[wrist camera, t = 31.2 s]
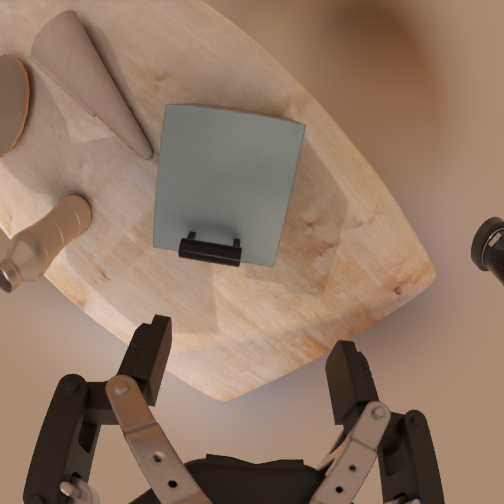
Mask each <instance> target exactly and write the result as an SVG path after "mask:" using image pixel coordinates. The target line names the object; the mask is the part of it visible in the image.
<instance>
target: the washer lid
mask: <svg viewBox="0 0 504 504" xmlns="http://www.w3.org/2000/svg"><path fill="white" fill-rule="evenodd" d="M305 127H306V125H304V124H300V123H296V122H291V121H286V120H282V119H277V118H272V117H266V116H261V115H255V114H250V113H243V112H237V111H230V110H223V109H215V108H207V107H197V106H187V105H174V104H166V109H165V116H164V122H163V129H162V137H161V145H160V153H159V163H158V173H157V184H156V197H155V212H154V232H153V247H155V248H161V249H167V250H173V251H179V257H180V258H186V259H192V260H198V261H204V262H210V263H216V264H222V265H228V266H235V267H239V265H240V262H246V263H252V264H258V265H265V266H271V267H273V266H274V263H275V259H276V255H277V250H278V246H279V242H280V238H281V234H282V230H283V225H284V221H285V217H286V212H287V208H288V204H289V199H290V195H291V191H292V186H293V182H294V177H295V173H296V168H297V164H298V159H299V155H300V150H301V145H302V141H303V136H304V131H305Z"/></svg>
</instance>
